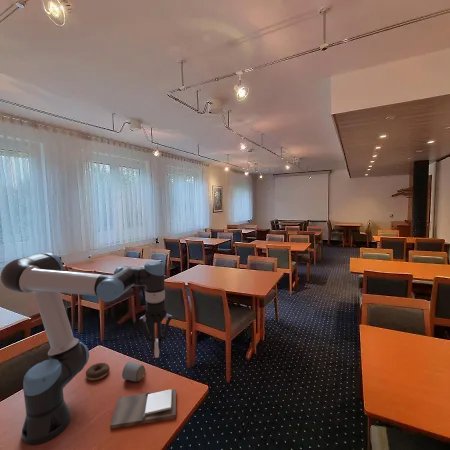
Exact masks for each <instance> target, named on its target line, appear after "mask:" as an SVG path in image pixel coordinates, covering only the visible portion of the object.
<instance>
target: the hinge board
mask: <svg viewBox="0 0 450 450" xmlns="http://www.w3.org/2000/svg"><path fill="white" fill-rule="evenodd" d="M156 392H157V391H154V392H150V391H148V390H147V391H146V393H142V394H141V393H139V394H134V395H133V394H132V395H127V396H121V397H120V396H118V399H117V402H116V404H115V409H114V411H113V416H112V418H111V422H110V424H109V425H110V430H113V429H118V428H125V427H131V426H137V425H143V424H149V423H154V422H155V423H157V422H161V421H167V420H173V419H177V389H176V388H175V389H174V388H173V389H172V403H171V410H166V411H162V412H158V413H154V414H149V415H145V409H146V403H147V397H148V394H151V393H156Z"/></svg>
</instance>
